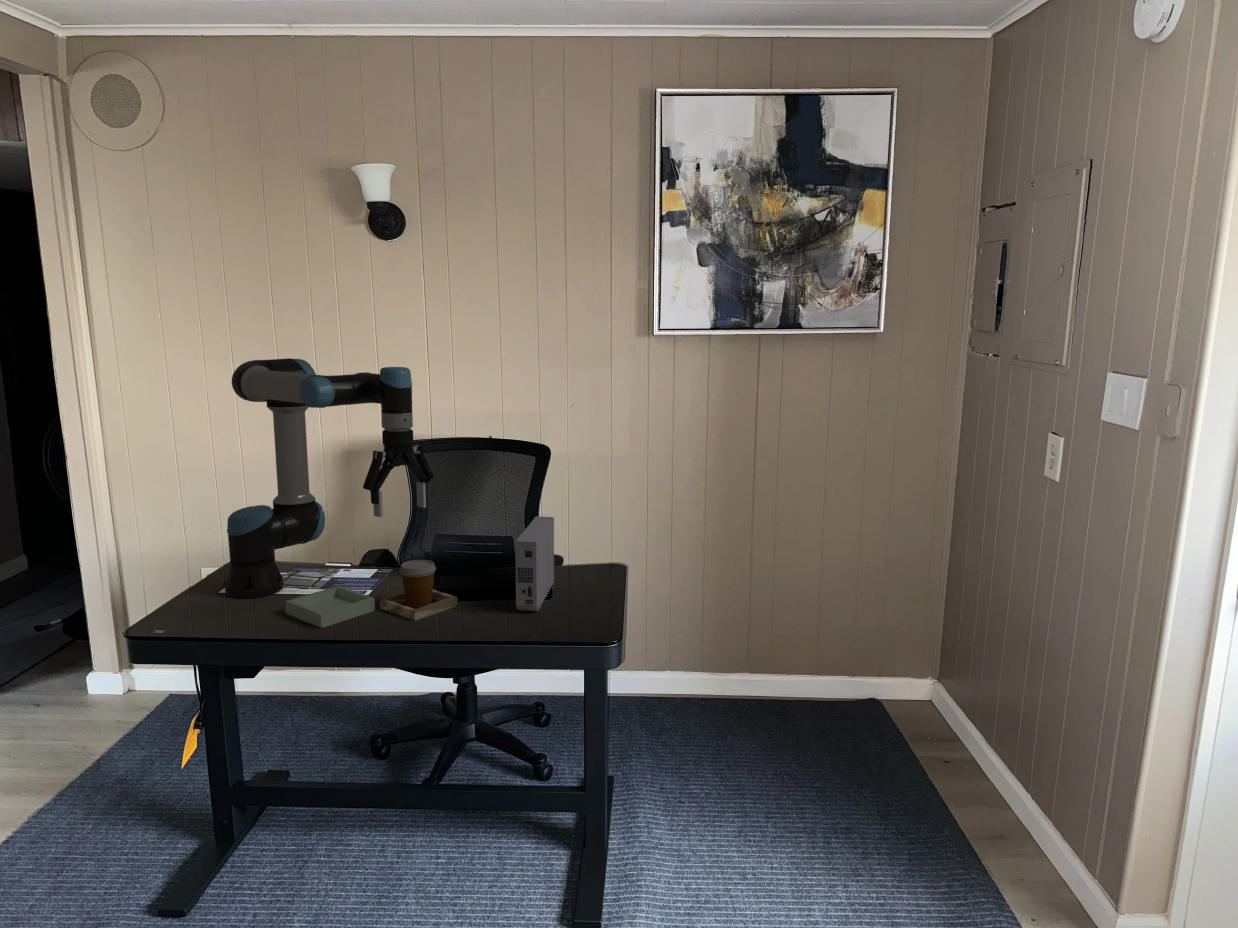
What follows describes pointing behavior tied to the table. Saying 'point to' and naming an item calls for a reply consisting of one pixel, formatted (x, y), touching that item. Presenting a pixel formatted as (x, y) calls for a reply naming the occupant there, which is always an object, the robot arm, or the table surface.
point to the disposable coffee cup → (418, 582)
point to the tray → (330, 606)
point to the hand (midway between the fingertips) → (400, 511)
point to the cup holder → (395, 607)
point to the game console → (534, 563)
